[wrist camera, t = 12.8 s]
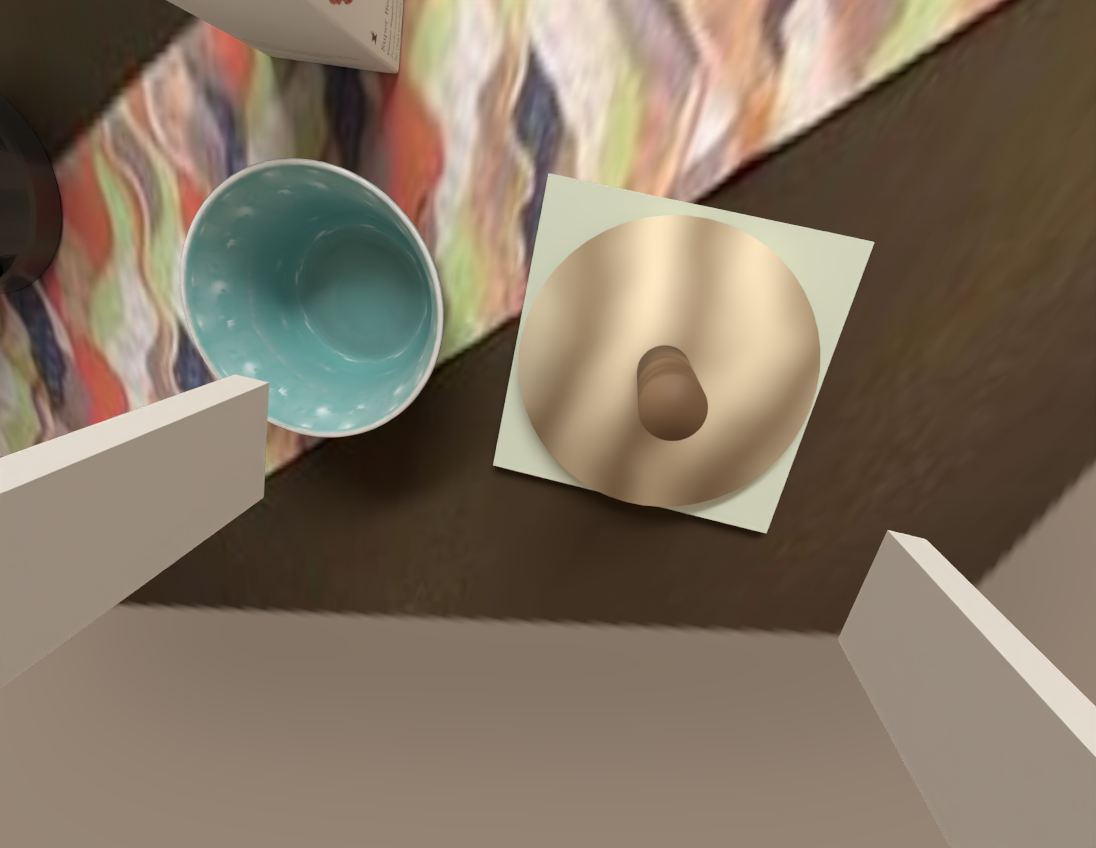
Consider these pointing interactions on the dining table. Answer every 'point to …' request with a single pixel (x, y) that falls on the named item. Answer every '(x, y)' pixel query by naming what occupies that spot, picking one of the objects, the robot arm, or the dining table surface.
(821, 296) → the mat
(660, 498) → the lid
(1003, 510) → the dining table surface
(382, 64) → the supplement box
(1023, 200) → the dining table surface
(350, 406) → the bowl
